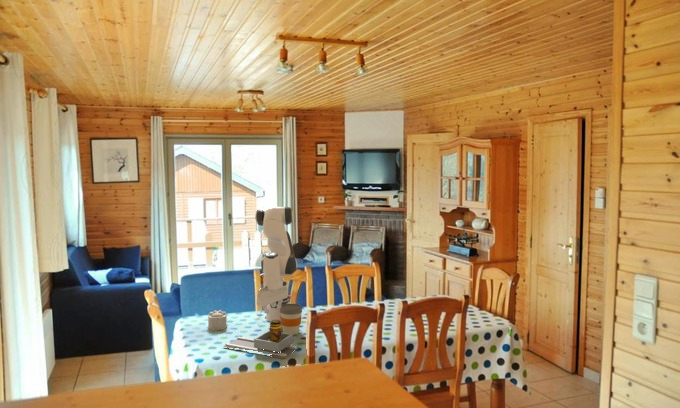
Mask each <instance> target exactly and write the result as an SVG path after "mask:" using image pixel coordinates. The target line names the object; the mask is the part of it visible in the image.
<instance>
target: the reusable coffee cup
mask: <svg viewBox="0 0 680 408" xmlns="http://www.w3.org/2000/svg"><path fill="white" fill-rule="evenodd" d="M280 313H281V316H280V318H281V328H282V333H287V334H293V336H294V335H298V334H299V332H300V327H301V326H300V325H301V324H302V318H303V316H302V313H303V307H302V305H301V304H298V303H291V304H284V305H281V308H280Z"/></svg>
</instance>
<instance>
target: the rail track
mask: <svg viewBox="0 0 680 408" xmlns="http://www.w3.org/2000/svg"><path fill="white" fill-rule="evenodd" d="M254 339H255V338H248V337H243V336H242V337H241V336H238V337H236V339H235V340H233V341H231V342H226V343H225V344H224V346H223V347H227V348H233V349H235V348H239V349H245V350H253V351H258V352H263V353H268V354H272V355H270V356H272V357H271V358H273V357H274V359H278V360H279V359H280V360H284V359H287V357H289V356H290V355H292V354H293V353H294V352H293V351H294V350H296V349H297V348H299V347H298V346H294V345H289V346H287V347H286V348H284V349H283V350H281V353H280V352H279V353H276V352H273V351H270V350H263V349H257V348H254ZM297 350H298V349H297ZM297 350H296V351H297ZM292 352H293V353H292ZM291 353H292V354H291Z"/></svg>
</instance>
